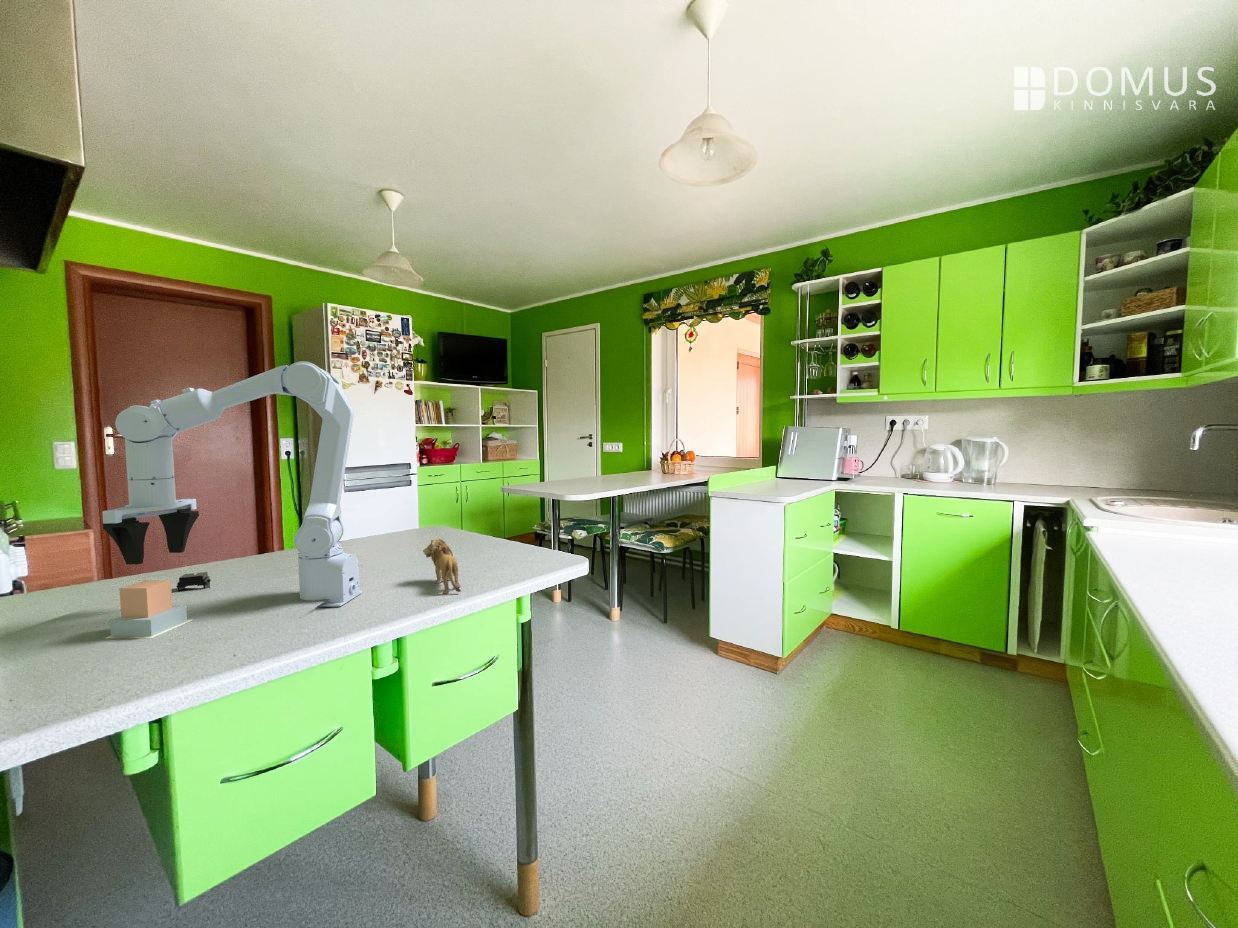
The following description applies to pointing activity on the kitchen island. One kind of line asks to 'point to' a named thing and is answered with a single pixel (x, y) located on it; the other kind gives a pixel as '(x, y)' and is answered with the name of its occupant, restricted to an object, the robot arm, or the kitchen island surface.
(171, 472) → the robot arm
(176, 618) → the base block
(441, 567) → the lion figurine
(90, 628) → the kitchen island surface
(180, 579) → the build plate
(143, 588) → the top block
